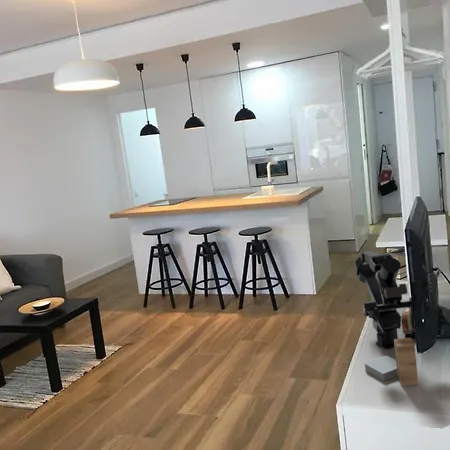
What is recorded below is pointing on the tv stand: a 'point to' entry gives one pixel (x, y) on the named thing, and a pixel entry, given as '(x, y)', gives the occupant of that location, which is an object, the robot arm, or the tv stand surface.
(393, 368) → the grey block
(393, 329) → the robot arm
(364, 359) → the tv stand surface
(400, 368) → the walnut block
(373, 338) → the tv stand surface
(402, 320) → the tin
